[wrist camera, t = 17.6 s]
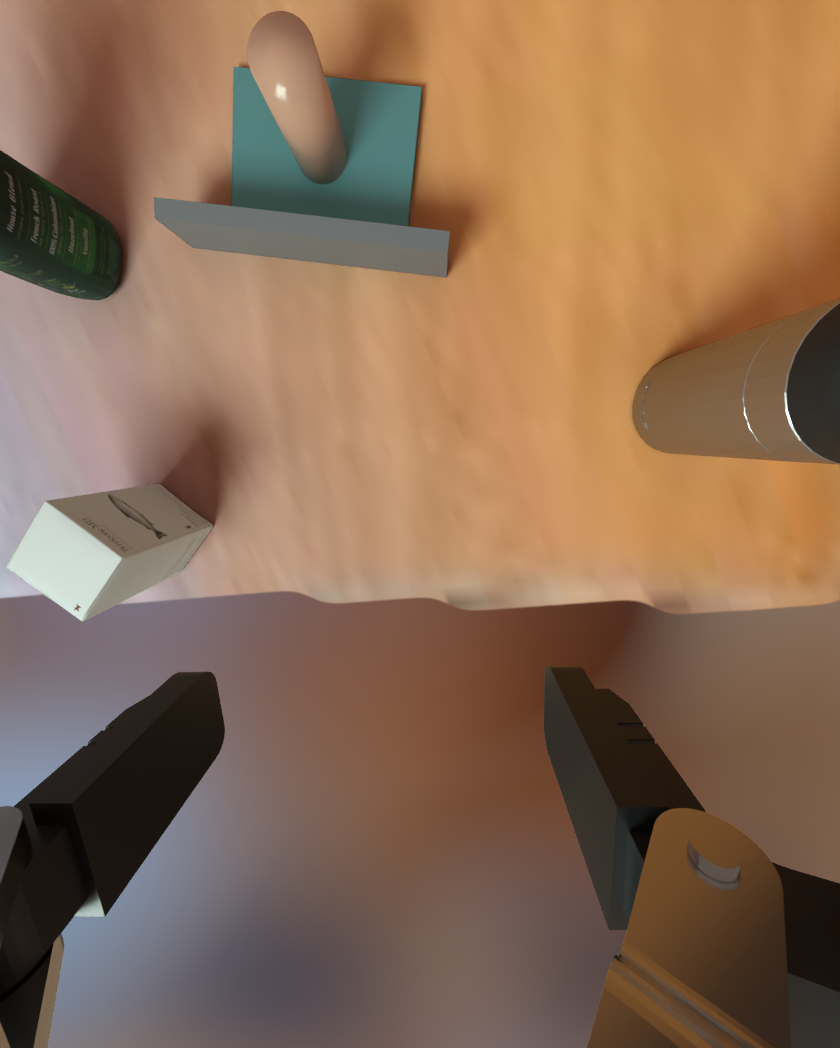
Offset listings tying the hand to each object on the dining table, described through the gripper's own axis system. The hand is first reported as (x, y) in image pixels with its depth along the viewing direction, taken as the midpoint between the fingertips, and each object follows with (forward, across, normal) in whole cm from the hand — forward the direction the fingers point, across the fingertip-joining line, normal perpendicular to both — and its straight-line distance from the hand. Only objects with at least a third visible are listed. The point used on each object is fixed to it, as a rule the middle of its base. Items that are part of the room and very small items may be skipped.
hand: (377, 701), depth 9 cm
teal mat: (+32, +7, -31) cm, 45 cm away
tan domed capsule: (+32, +8, -31) cm, 45 cm away
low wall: (+32, +9, -23) cm, 41 cm away
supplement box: (+32, +28, +2) cm, 43 cm away
